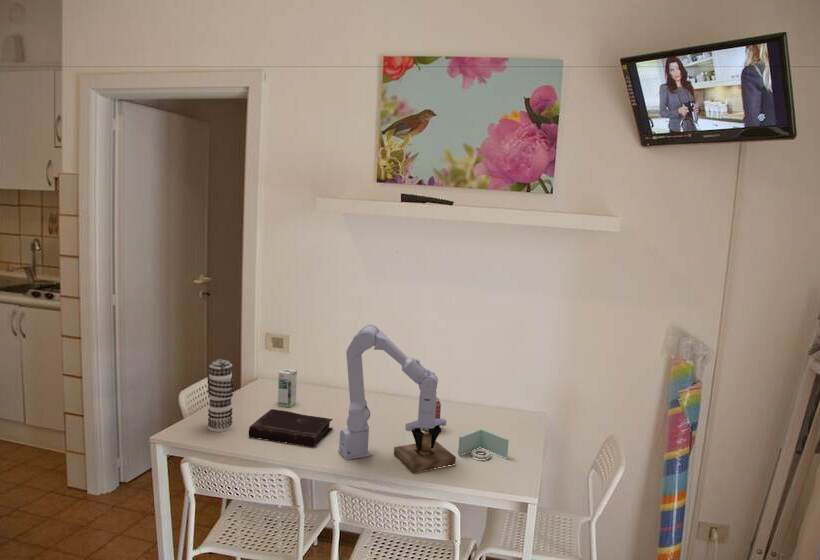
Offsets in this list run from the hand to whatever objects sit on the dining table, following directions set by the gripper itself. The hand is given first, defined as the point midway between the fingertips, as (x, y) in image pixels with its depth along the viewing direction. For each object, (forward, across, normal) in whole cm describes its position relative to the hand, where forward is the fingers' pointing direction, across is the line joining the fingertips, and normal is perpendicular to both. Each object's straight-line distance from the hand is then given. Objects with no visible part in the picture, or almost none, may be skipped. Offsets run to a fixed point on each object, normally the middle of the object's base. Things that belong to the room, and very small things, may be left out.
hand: (424, 448), depth 198 cm
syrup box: (+4, -29, +66) cm, 72 cm away
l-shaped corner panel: (+5, +20, -5) cm, 22 cm away
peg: (+3, 0, 0) cm, 3 cm away
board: (+4, 0, 0) cm, 4 cm away
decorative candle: (+4, -58, +51) cm, 77 cm away
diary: (+5, -35, +37) cm, 51 cm away
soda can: (+4, +15, +23) cm, 28 cm away
